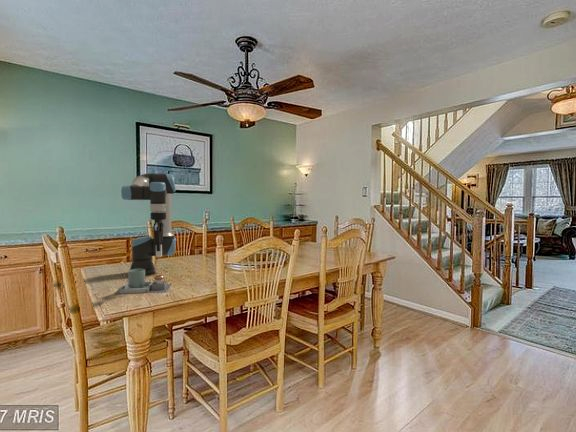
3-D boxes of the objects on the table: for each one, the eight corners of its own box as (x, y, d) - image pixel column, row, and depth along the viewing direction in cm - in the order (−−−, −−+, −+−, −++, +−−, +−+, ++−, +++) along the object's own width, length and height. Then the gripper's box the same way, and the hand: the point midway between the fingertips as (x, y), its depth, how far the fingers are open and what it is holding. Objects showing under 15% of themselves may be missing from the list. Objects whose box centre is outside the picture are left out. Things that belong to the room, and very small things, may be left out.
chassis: (128, 288, 172) (127, 279, 172) (172, 286, 176) (172, 278, 175) (117, 297, 156) (116, 287, 156) (166, 295, 160) (165, 286, 159)
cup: (148, 288, 166) (148, 269, 166) (135, 292, 159) (134, 272, 159) (139, 286, 170) (138, 267, 169) (125, 289, 163) (125, 270, 163)
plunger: (155, 286, 169) (155, 275, 168) (165, 285, 169) (165, 274, 169) (153, 288, 164) (153, 277, 164) (163, 288, 165) (162, 277, 164)
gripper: (163, 212, 159) (163, 259, 160) (168, 211, 171) (169, 254, 173) (147, 212, 157) (148, 259, 159) (153, 211, 170) (154, 254, 172)
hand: (158, 256), depth 166 cm, fingers closed
